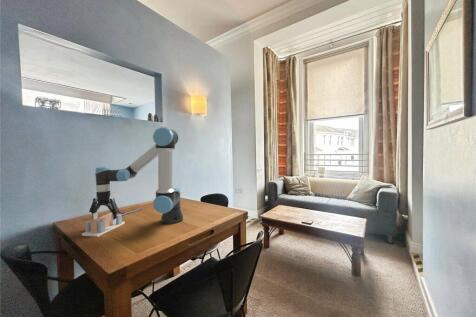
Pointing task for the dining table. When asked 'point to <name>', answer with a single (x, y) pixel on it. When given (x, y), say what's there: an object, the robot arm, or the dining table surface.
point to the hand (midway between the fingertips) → (104, 223)
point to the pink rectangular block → (105, 218)
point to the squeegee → (129, 212)
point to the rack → (102, 227)
